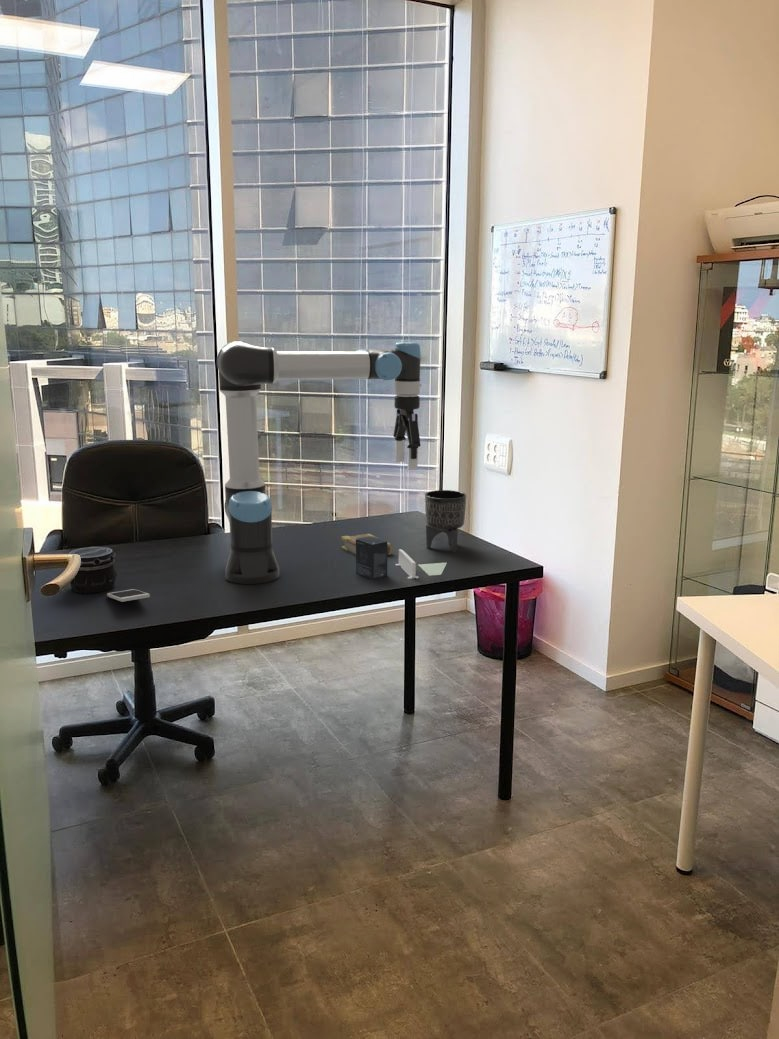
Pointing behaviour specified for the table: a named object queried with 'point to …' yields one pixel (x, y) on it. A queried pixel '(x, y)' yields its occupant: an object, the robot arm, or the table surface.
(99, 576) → the container
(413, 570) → the handle
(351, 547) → the book
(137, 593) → the smartphone
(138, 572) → the table surface
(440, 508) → the planter
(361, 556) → the box
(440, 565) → the pad
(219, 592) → the table surface
